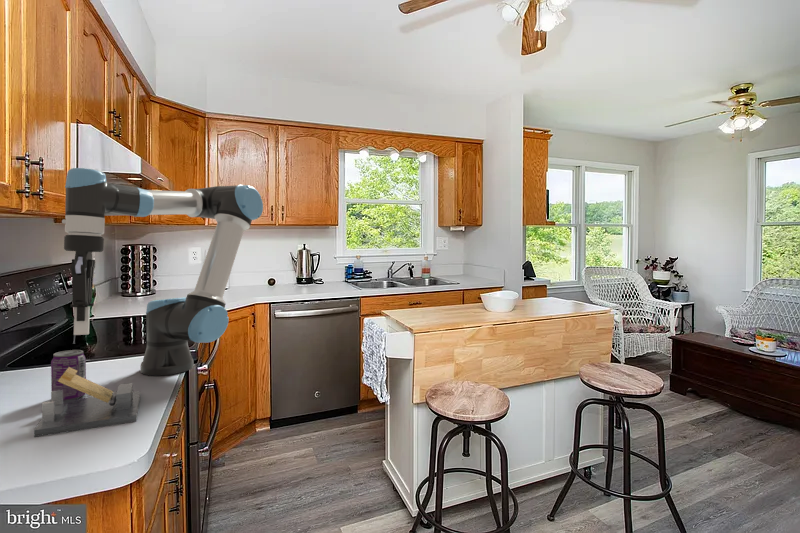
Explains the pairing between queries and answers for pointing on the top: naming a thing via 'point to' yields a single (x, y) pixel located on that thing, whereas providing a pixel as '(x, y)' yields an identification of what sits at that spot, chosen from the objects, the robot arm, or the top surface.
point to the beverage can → (61, 364)
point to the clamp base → (87, 412)
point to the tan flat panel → (87, 386)
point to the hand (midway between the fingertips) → (81, 334)
